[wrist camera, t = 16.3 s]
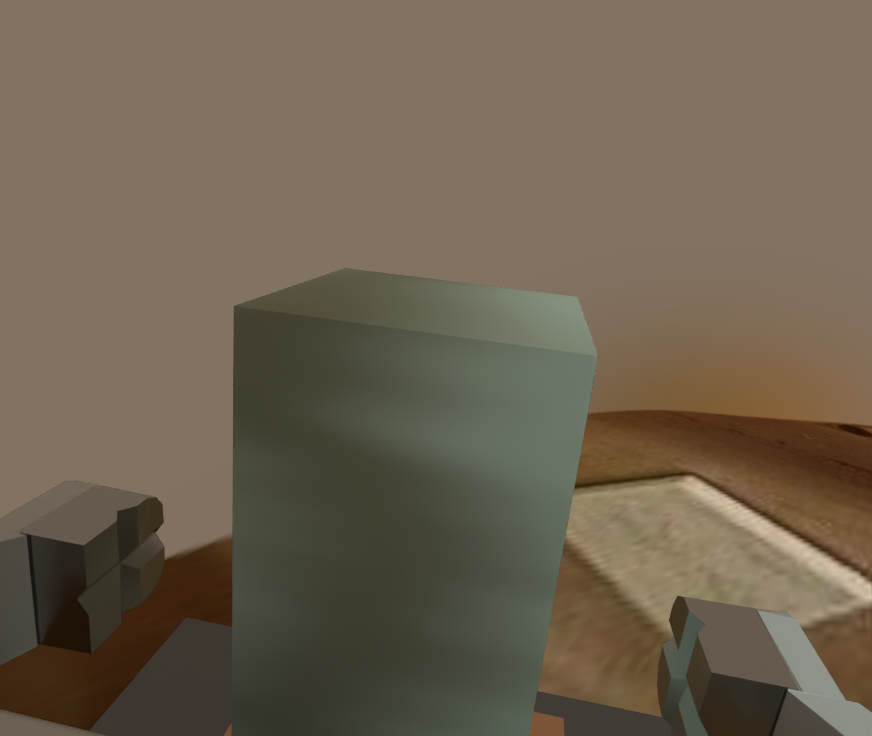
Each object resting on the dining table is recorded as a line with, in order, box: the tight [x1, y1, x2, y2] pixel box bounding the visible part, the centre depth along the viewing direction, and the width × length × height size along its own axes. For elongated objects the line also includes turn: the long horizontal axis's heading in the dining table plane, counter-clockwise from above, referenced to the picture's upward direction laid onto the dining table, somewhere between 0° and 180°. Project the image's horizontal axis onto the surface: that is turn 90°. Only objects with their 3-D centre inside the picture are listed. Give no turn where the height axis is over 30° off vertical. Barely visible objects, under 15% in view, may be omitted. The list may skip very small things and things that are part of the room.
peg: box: [231, 268, 598, 736], centre depth 10 cm, size 4×4×12 cm
